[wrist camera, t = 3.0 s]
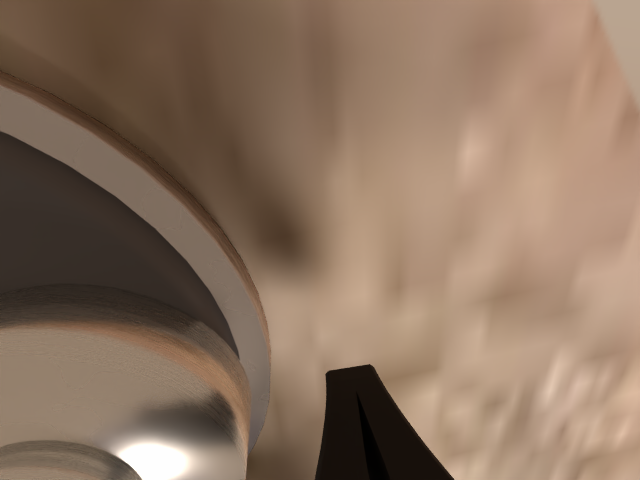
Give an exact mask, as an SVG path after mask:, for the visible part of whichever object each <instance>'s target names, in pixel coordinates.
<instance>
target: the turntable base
mask: <svg viewBox="0 0 640 480" xmlns="http://www.w3.org/2000/svg"><path fill="white" fill-rule="evenodd" d="M0 131H2V132H4V133H7V134H9V135H11V136H13V137H15V138H17V139H19V140H21V141H23V142H25V143H27V144H29V145H31V146H32V147H34V148H36V149H38V150H40V151H42V152H44V153H46V154H48V155H50V156H52V157H54V158H55V159H57V160H59V161H61V162H63V163H65V164H67V165H69V166H70V167H72V168H73V169H75V170H76V171H78V172H79V173H81V174H82V175H84V176H85V177H87V178H88V179H90V180H91V181H93V182H95V183H96V184H98V185H99V186H101V187H102V188H104V189H105V190H107V191H108V192H110V193H111V194H113V195H114V196H116V197H117V198H118V199H120V200H121V201H122V202H123V203H124V204H126V205H127V206H128V207H129V208H131V209H132V210H133V211H134V212H136V213H137V214H138V215H139V216H140V217H142V218H143V219H144V220H145V221H147V222H148V223H149V224H150V225H151V226H153V227H154V228H155V229H156V230H157V231H158V232H159V233H160V234H161V235H162V236H163V237H164V238H165V239H166V240H167V241H168V242H169V243H170V244H171V245H172V246H173V247H174V248H175V249H176V250H177V251H178V252H179V253H180V254H181V255H182V256H183V257H184V258H185V259H186V260H187V262H188V263H189V264H190V266H191V267H192V268H193V270H194V271H195V272H196V273H197V275H198V276H199V277H200V279H201V280H202V281H203V283H204V284H205V285H206V287H207V288H208V289H209V290H210V292H211V294H212V295H213V297H214V299H215V301H216V302H217V304H218V306H219V308H220V309H221V311H222V313H223V315H224V317H225V318H226V320H227V322H228V325H229V327H230V330H231V333H232V335H233V338H234V341H235V343H236V346H237V349H238V352H239V357H240V362H241V364H242V366H243V367H244V369H245V372H246V375H247V377H248V380H249V384H250V389H251V417H250V430H249V443H248V455H249V453H250V452H251V450H252V449H253V447H254V445H255V443H256V440H257V438H258V436H259V434H260V431H261V429H262V427H263V424H264V420H265V416H266V412H267V407H268V403H269V392H270V365H271V348H270V340H269V333H268V326H267V321H266V317H265V314H264V311H263V308H262V304H261V301H260V298H259V295H258V292H257V290H256V288H255V286H254V284H253V282H252V280H251V278H250V275H249V273H248V271H247V269H246V267H245V265H244V263H243V261H242V260H241V258H240V257H239V255H238V254H237V252H236V251H235V249H234V248H233V246H232V245H231V243H230V242H229V240H228V239H227V237H226V236H225V234H224V233H223V231H222V230H221V228H220V227H219V226H218V225H217V224H216V223H215V221H214V220H213V219H212V218H211V217H210V216H209V214H208V213H207V212H206V211H205V210H204V209H203V208H202V206H201V205H200V204H199V203H198V202H197V201H196V200H195V198H194V197H193V196H192V195H191V194H190V193H189V192H188V191H187V190H186V189H185V188H183V187H182V186H181V185H180V184H179V183H178V182H177V181H176V180H175V179H174V178H172V177H171V176H170V175H169V174H168V173H167V172H166V171H165V170H164V169H163V168H161V167H160V166H159V165H158V164H157V163H156V162H155V161H154V160H153V159H151V158H150V157H148V156H147V155H146V154H144V153H143V152H142V151H140V150H139V149H137V148H136V147H135V146H133V145H132V144H131V143H129V142H128V141H126V140H125V139H124V138H122V137H121V136H120V135H118V134H117V133H115V132H114V131H113V130H111V129H110V128H109V127H107V126H106V125H104V124H102V123H101V122H99V121H97V120H95V119H94V118H92V117H90V116H88V115H87V114H85V113H83V112H82V111H80V110H78V109H76V108H75V107H73V106H71V105H70V104H68V103H66V102H64V101H63V100H61V99H59V98H57V97H56V96H54V95H52V94H50V93H48V92H46V91H44V90H41V89H39V88H37V87H35V86H33V85H30V84H28V83H26V82H24V81H21V80H19V79H17V78H15V77H13V76H10V75H8V74H6V73H4V72H2V71H0Z"/></svg>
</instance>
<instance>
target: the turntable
mask: <svg viewBox="0 0 640 480" xmlns="http://www.w3.org/2000/svg"><path fill="white" fill-rule="evenodd" d="M60 283H61V284H91V285H99V286H108V287H114V288H118V289H123V290H128V291H132V292H136V293H139V294H142V295H146V296H149V297H152V298H155V299H158V300H160V301H163V302H165V303H167V304H169V305H172V306H174V307H176V308H179V309H180V310H182V311H184V312H186V313H187V314H189V315H191V316H193V317H194V318H196V319H198V320H199V321H200V322H203V323H204V324H205V325H207V326H208V327H209V328H211V329H212V330H213V331H214V332H216V333H217V334H218V335H219V336H220V337H221V338H222V339H223V340H224V341H225V342H226V343H227V344H228V345H229V347H230V348H231V349H232V350H233V352H234V353H235V354H236V355H237V357H238V359H239V360H240V357H239V352H238V349H237V346H236V343H235V341H234V338H233V335H232V333H231V330H230V327H229V325H228V322H227V320H226V318H225V317H224V315H223V313H222V311H221V309H220V308H219V306H218V304H217V302H216V301H215V299H214V297H213V295H212V294H211V292H210V290H209V289H208V288H207V287H206V285H205V284H204V283H203V281H202V280H201V279H200V277H199V276H198V275H197V273H196V272H195V271H194V270H193V268H192V267H191V266H190V264H189V263H188V262H187V260H186V259H185V258H184V257H183V256H182V255H181V254H180V253H179V252H178V251H177V250H176V249H175V248H174V247H173V246H172V245H171V244H170V243H169V242H168V241H167V240H166V239H165V238H164V237H163V236H162V235H161V234H160V233H159V232H158V231H157V230H156V229H155V228H154V227H153V226H151V225H150V224H149V223H148V222H147V221H145V220H144V219H143V218H142V217H140V216H139V215H138V214H137V213H136V212H134V211H133V210H132V209H131V208H129V207H128V206H127V205H126V204H124V203H123V202H122V201H121V200H120V199H118V198H117V197H116V196H114V195H113V194H111V193H110V192H108V191H107V190H105V189H104V188H102V187H101V186H99V185H98V184H96V183H95V182H93V181H91V180H90V179H88V178H87V177H85V176H84V175H82V174H81V173H79V172H78V171H76V170H75V169H73V168H72V167H70V166H69V165H67V164H65V163H63V162H61V161H59V160H57V159H55V158H54V157H52V156H50V155H48V154H46V153H44V152H42V151H40V150H38V149H36V148H34V147H32V146H31V145H29V144H27V143H25V142H23V141H21V140H19V139H17V138H15V137H13V136H11V135H9V134H7V133H4V132H2V131H0V294H3V293H6V292H9V291H12V290H16V289H21V288H26V287H31V286H37V285H49V284H60Z"/></svg>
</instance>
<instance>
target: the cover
mask: <svg viewBox="0 0 640 480" xmlns="http://www.w3.org/2000/svg"><path fill="white" fill-rule="evenodd" d="M250 417H251V389H250V384H249V380H248V377H247V375H246V372H245V369H244V367H243V366H242V364H241V362H240V360H239V359H238V357H237V355H236V354H235V353H234V352H233V350H232V349H231V348H230V347H229V345H228V344H227V343H226V342H225V341H224V340H223V339H222V338H221V337H220V336H219V335H218V334H217V333H216V332H214V331H213V330H212V329H211V328H209V327H208V326H207V325H205V324H204V323H203V322H200V321H199V320H198V319H196V318H194V317H193V316H191V315H189V314H187V313H186V312H184V311H182V310H180V309H179V308H176V307H174V306H172V305H169V304H167V303H165V302H163V301H160V300H158V299H155V298H152V297H149V296H146V295H142V294H139V293H136V292H132V291H128V290H123V289H118V288H114V287H108V286H99V285H91V284H61V283H60V284H49V285H37V286H31V287H26V288H21V289H16V290H12V291H9V292H6V293H3V294H0V480H246V469H247V456H248V443H249V430H250Z"/></svg>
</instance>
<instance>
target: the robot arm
mask: <svg viewBox="0 0 640 480" xmlns="http://www.w3.org/2000/svg"><path fill="white" fill-rule="evenodd" d="M325 375H326V410H325V421H324V428H323V436H322V443H321V450H320V455H319V460H318V465H317V471H316V476H315V480H454V478H453V477H452V476H451V475H450V474H449V473H448V471H447V470H446V469H445V468H444V467H443V466H442V464H441V463H440V462H439V461H438V459H437V458H436V457H435V456H434V455H433V453H432V452H431V451H430V450H429V448H428V447H427V446H426V445H425V443H424V442H423V441H422V439H421V438H420V437H419V436H418V434H417V433H416V431H415V430H414V429H413V427H412V426H411V425H410V423H409V422H408V421H407V419H406V418H405V416H404V415H403V414H402V412H401V411H400V409H399V408H398V406H397V405H396V403H395V402H394V400H393V399H392V397H391V396H390V394H389V393H388V391H387V390H386V388H385V386H384V385H383V383H382V381H381V380H380V378H379V376H378V374H377V372H376V370H375V368H374V367H373V366H372V365H370V364H369V365H362V366H356V367H350V368H343V369H337V370H331V371H328V372H327V373H326V374H325Z"/></svg>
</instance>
